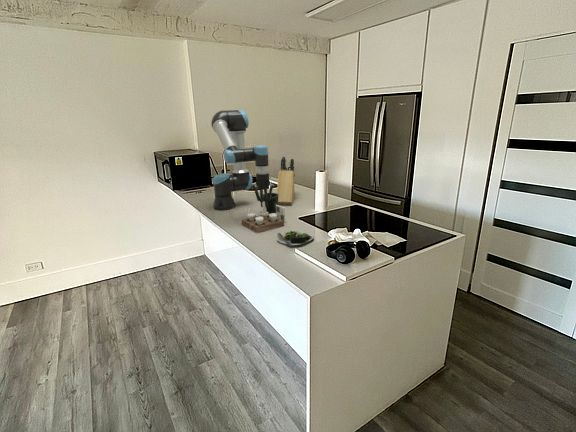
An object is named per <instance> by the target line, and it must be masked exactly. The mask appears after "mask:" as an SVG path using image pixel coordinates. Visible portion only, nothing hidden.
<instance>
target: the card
mask: <svg viewBox="0 0 576 432" xmlns="http://www.w3.org/2000/svg"><path fill="white" fill-rule="evenodd" d="M276 214H277V218H278V219H281V220H283V221H284V223H286V220H287V219H286V217H287V216H286V207H284V206H281V205H280V204H279V205H276Z"/></svg>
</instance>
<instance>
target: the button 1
mask: <svg viewBox="0 0 576 432" xmlns="http://www.w3.org/2000/svg"><path fill="white" fill-rule="evenodd" d="M255 216H256V213H255V212H249V213H247V218H249V222H253V221H254V217H255Z"/></svg>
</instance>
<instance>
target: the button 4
mask: <svg viewBox="0 0 576 432" xmlns="http://www.w3.org/2000/svg"><path fill="white" fill-rule="evenodd" d="M269 218H270V219H271V222H276V218H277V214H276V213H271V214H269Z"/></svg>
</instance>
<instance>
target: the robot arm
mask: <svg viewBox="0 0 576 432" xmlns="http://www.w3.org/2000/svg"><path fill="white" fill-rule="evenodd" d="M210 123H211V128H212V130H213V132H214V133H216V135H217V136H218V139H219V141H220V143H221V145H222V147H223V149H224V151H223V160H224V162H225V164H233V170H232V171H231V174H230V173H229V172H224V173H219V174H216V175H214V176H213V179H212V184H213V191H214V192H213V193H214V198H213V200H214V201H213V207H212V208H213V210H216V211H229V210H231V209H234V208H236V202H235V200H234V198H233V195H232V194H233V193H234V192H240V191H241V192H242V191H246V190H249V189H251V188H253V190H254V193H255V197H256V200H257V202H260V207H261V208H262V212H263V213H266V207H267V206H268V201H270V199H271V194H272V193H273V188H274V187H275V184H273V183H272V182H271V181H270V173H269V172H270V170H269V169H270V168H269V166H270V165H269V150H268V149H269V147H268V146H267V145H263V144H262V145H261V144H260V145H255V146H254V147H250V148H246V143H245V141H246V140H245V133H246V132H247V129H248V128H249V123H250V122H249V118H248V115H247V113H246V112H245V110H242V109H237V110H236V109H233V110H231V109H230V110H228V109H227V110H219V111H217V112H216V113H215V114H214V115H213V116H212V119H211V122H210ZM247 162H255V163H254V164H255V166H254V167H255V173H256V174H255V179H256V180H255V184H253V175H252V174H251V173H250V170H249V169H247ZM268 188H269V192H268ZM258 189H259V190H258ZM232 192H233V193H232ZM267 193H269V196H268V198H267ZM263 194H264V197H265V201H263Z"/></svg>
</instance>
